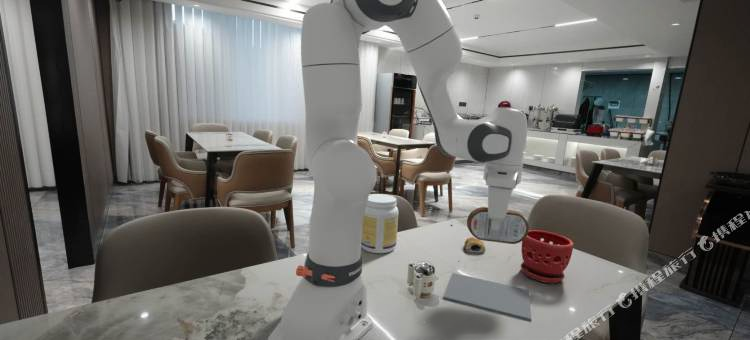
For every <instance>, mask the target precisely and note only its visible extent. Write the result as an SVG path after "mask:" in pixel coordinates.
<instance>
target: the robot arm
mask: <svg viewBox="0 0 750 340" xmlns="http://www.w3.org/2000/svg"><path fill="white" fill-rule="evenodd" d="M384 26H386V27H387V28H389V29H391V30H392V31H393V32H394V33H395V34H396V36H397V37H398V38H399V40H400V42H401V45H402V47H403V49H404V52H405V53H406V56H407V58H408V59H409V62H410V64H411V67H412V69H413V71H414V73H415V76H416V82H417V86H418V88H419V92H420V93H421V97H422V100H423V102H424V104H425V107H426V109H427V112H428V114H429V117H430V119H431V122H432V126H433V131H434V138H435V139H434V140H435V144H436V146H437V149H438V150H439V151H440V152H441V154H443V156H446V157H451V158H459V159H463V160H466V161H471V162H474V163H484V169H483V180H484V181H485V185H486V186H487V208H488V217H489V218H490V219H492V229H493V230H499V227H500V222H501V220H504V219H505V217H506V213H507V210H509V205H510V200H511V197H512V193H513V191H514V190H515V189H516V187H517V186H518V185H519V184H521V182H522V181H521V180H522V175H523V167H524V158H523V154H524V151H525V149H526V144H527V136H528V119H527V116H526V113H524V112H523V111H521V110H520V109H516V108H511V107H503V106H502V107H496V108H494V109H493V111H492V112H491V113H489V114H487V115H485V116H484V117H482V118H481V117H480V118H478V119H477V120H470V119H465V118H463V117H461V116H459V114H458V113H457V111H456V110H455V106H454V104H453V100H452V97H451V96H450V92H449V90H448V79H449V78H450V77H451V76H452V75H453V74H454V73H455V72H456V70H457V68H458V67H459V65H460V63H461V61H462V57H463V47H462V42H461V38H460V37H459V34H458V31H457V29H456V27H455V25H454V22H453V20H452V17H451V15H450V13H449V12H448V10H447V8H446V5H444V3H443V1H442V0H330V2H322V3H317V4H315V5H312V6H311V7H309V8H308V9H307V10H306V11H305V13H304V15H303V17H302V24H301V35H300V37H301V38H300V61H301V73H302V74H301V75H302V85H303V96H304V106H305V108H304V109H305V146H306V149H305V151H306V165H307V168H308V172H309V173H310V175H311V176H312V178H313V184H314V185H313V186H314V191H313V197H312V198H313V200H312V207H311V213H310V217H309V221H308V223H309V224H308V227H309V229H308V253H307V254H306V258H305V261H304V265H298V266H297V267H296V269H295V275H296V276H298V277H301V279H300V281H299V282H298V284H297V285H296V287H295V289H294V290H293V292H292V294H291V296H290V298H289V300H288V302H287V303H286V305H285V307H284V308H283V310H282V315H281V320H280V321H279V323H278V324H277V325H276V326H275V328H274V329H273V330H272V332H271V333H270V335H269V336H268V338H267V340H360V338H362V336H364V335H365V334H366V333H367V332H369V330H370V329H372V328H373V319H372V318H371V316H369V315H368V289H367V285H366V284H365V282H364V279H363V277H362V275H361V274H362V272H363V265H364V261H363V254H362V253H361V252H362V247H361V240H362V225H363V218H364V213H365V209H366V206H367V202H368V198H369V195H371V192H372V191H373V190H374V188H375V186H376V183H377V179H378V178H377V177H378V176H377V175H378V174H377V173H378V172H377V168H376V165H375V163H374V161H373V158H372V157H371V156H370V154H369V153H368V151H367V150H366V149H364V148H363V147H362V146H360V145H359V144H358V134H359V133H358V132H359V123H360V122H359V121H360V116H361V112H362V108H363V100H362V99H363V98H362V97H363V96H362V80H361V79H362V78H361V63H360V52H359V49H360V41H361V37H362V35H365V34H367V33H369V32H371V31H374V30H375V31H376V30H378V29H381V28H383V27H384Z"/></svg>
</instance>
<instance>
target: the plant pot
mask: <svg viewBox="0 0 750 340" xmlns="http://www.w3.org/2000/svg"><path fill="white" fill-rule="evenodd" d="M542 239H543V240H542ZM574 245H575V244H574V242H573V241H572V240H571V239H570V238H567V237H566V236H563V235H561V234H557V233H555V232H551V231H550V232H549V231H546V230H538V229H537V230H536V229H534V230H532V229H531V230H530V229H529V231H528V234H527V236H526V238H525V239H524V240H523V241H521V258H522V260H523V262H522V263H521V264H520V268H521V270H522V272H523V273H524V274H525V275H527V276H528V277H529V278H531V279H533V280H536V281H538V282H542V283H543V282H544V283H553V284H555V283H559V282H561V281H563V280H564V278H565V276H566V274H565V273H564V271H565V270H566V269H567V267H568V265H569V263H570V261H571V258H572V255H573V251H574Z"/></svg>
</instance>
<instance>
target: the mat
mask: <svg viewBox="0 0 750 340" xmlns="http://www.w3.org/2000/svg"><path fill="white" fill-rule="evenodd" d="M450 276H451V277H450V279H449V282H448V284H447V286H446V288H445V292H444V294H443V299H444V300H448V301H453V302H456V303H460V304H464V305H468V306H471V307H475V308H479V309H484V310H487V311H491V312H495V313H498V314H503V315H506V316H511V317H515V318H518V319H523V320H526V321H530V322H531V321H532V311H531V299H530V290H529V289H526V288H521V287H517V286H513V285H508V284H505V283H500V282H494V281H491V280H486V279H481V278H478V277H473V276H468V275H465V274H460V273H456V272H452V274H451V275H450Z"/></svg>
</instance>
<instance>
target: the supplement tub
mask: <svg viewBox="0 0 750 340" xmlns="http://www.w3.org/2000/svg"><path fill="white" fill-rule="evenodd" d="M397 204H398V201H397V198H396V197H395V196H393V195H390V194H384V193H383V194H382V193H372V194H371V193H370V194H369V198H368V202H367V206H366V209H365V213H364V218H363V225H362V240H361V249H363V250H364V251H366V252H368V253H372V254H386V253H390V252H392V251H394V250H395V249H396V247H397V239H398V228H399V227H398V225H399V223H398V222H399V214H400V213H399V208H398V207H397Z"/></svg>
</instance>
